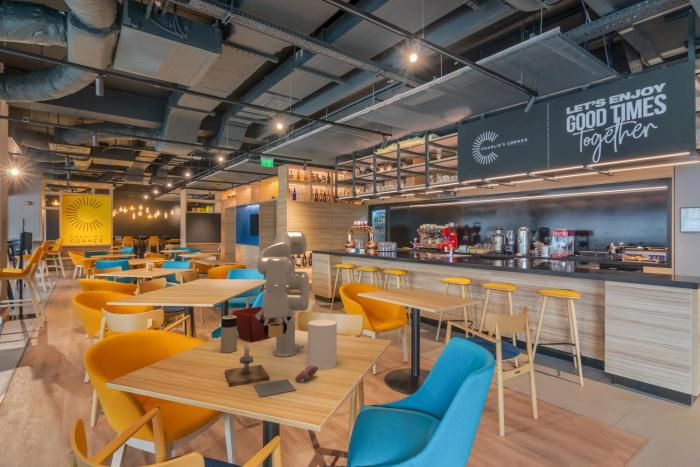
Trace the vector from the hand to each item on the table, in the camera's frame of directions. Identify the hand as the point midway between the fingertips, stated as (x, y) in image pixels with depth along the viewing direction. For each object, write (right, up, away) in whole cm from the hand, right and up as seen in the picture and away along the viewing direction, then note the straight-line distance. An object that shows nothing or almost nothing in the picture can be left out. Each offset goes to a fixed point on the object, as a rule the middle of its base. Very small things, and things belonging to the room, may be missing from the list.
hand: (275, 333), depth 141 cm
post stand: (-15, -22, +11) cm, 29 cm away
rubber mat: (0, -22, 0) cm, 22 cm away
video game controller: (+12, -22, +9) cm, 27 cm away
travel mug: (-35, -23, +47) cm, 63 cm away
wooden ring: (0, 0, 0) cm, 0 cm away
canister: (+17, -23, +27) cm, 39 cm away
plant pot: (-28, -23, +72) cm, 80 cm away
